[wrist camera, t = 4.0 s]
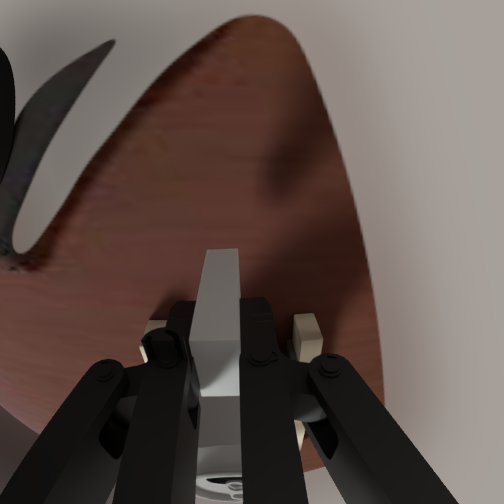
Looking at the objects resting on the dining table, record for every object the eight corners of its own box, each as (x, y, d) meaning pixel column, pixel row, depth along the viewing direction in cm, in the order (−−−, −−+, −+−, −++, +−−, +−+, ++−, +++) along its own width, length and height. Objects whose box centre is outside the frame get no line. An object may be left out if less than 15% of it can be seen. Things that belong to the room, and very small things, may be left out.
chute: (144, 320, 21) (134, 346, 18) (317, 312, 21) (328, 338, 19) (202, 470, 34) (201, 486, 31) (291, 465, 34) (293, 482, 31)
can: (270, 312, 21) (297, 464, 10) (284, 375, 24) (307, 498, 13) (174, 329, 21) (146, 473, 11) (204, 388, 25) (198, 507, 14)
